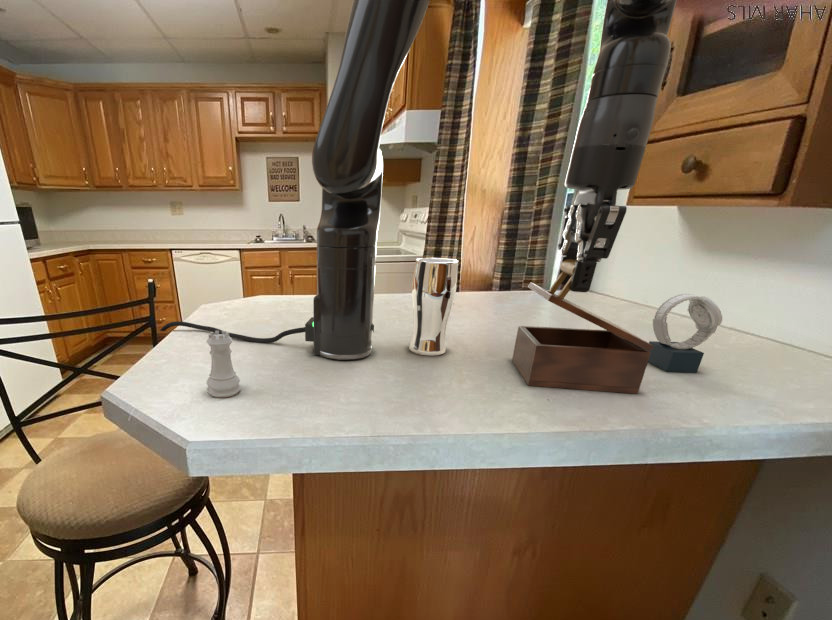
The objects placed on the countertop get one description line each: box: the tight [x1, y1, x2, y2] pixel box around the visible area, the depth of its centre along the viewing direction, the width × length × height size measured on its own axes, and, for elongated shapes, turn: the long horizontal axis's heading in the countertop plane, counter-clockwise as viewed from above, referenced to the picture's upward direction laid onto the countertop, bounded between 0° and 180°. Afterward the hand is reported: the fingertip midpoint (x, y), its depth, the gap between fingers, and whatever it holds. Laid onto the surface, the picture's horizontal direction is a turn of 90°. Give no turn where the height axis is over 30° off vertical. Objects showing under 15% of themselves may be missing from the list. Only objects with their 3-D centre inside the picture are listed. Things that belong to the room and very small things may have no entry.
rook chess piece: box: [206, 330, 242, 398], centre depth 54 cm, size 4×4×8 cm
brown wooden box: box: [511, 325, 651, 395], centre depth 61 cm, size 14×11×6 cm
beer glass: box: [408, 257, 459, 357], centre depth 70 cm, size 7×7×15 cm
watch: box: [648, 293, 723, 374], centre depth 64 cm, size 6×8×11 cm
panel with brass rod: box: [527, 259, 654, 351], centre depth 57 cm, size 14×11×6 cm
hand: (571, 287), depth 57 cm, fingers closed on panel with brass rod, 5 cm apart
